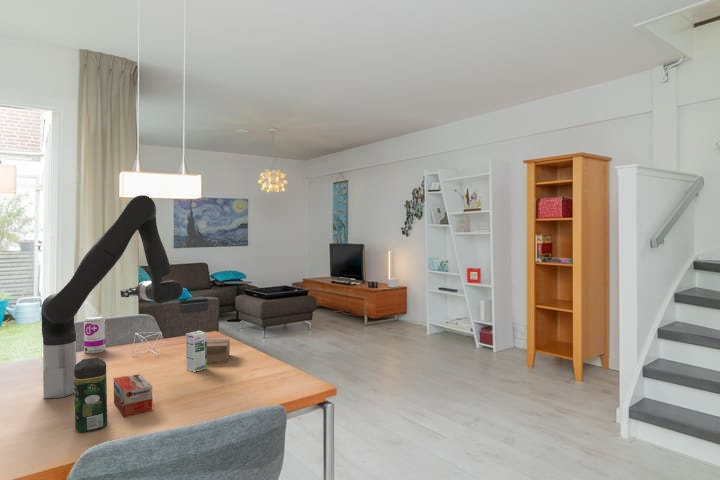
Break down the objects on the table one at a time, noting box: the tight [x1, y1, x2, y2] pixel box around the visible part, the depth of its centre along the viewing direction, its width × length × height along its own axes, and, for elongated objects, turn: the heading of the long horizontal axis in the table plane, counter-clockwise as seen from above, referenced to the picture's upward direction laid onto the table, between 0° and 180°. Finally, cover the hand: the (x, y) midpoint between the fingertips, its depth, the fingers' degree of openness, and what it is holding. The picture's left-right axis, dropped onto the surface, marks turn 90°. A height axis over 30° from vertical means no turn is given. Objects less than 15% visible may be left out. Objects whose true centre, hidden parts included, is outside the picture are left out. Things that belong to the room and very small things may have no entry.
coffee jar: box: [73, 357, 108, 433], centre depth 128 cm, size 10×8×19 cm
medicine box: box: [113, 373, 153, 418], centre depth 142 cm, size 15×8×8 cm, turn 39°
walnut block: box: [207, 338, 231, 364], centre depth 192 cm, size 11×11×7 cm
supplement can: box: [83, 315, 106, 354], centre depth 203 cm, size 8×8×15 cm
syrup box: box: [185, 330, 208, 373], centre depth 179 cm, size 6×6×14 cm
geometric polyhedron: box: [131, 331, 163, 358], centre depth 199 cm, size 12×11×9 cm
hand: (135, 289), depth 188 cm, fingers open, 8 cm apart
